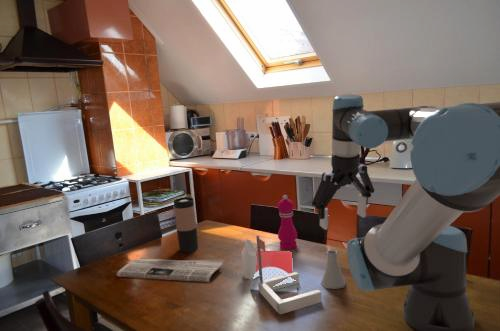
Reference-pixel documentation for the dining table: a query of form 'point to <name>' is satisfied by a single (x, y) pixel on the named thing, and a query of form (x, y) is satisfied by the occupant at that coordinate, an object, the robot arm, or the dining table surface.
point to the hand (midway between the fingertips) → (342, 221)
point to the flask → (333, 272)
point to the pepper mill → (286, 224)
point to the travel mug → (186, 224)
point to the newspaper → (171, 269)
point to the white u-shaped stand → (272, 297)
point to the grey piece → (249, 259)
